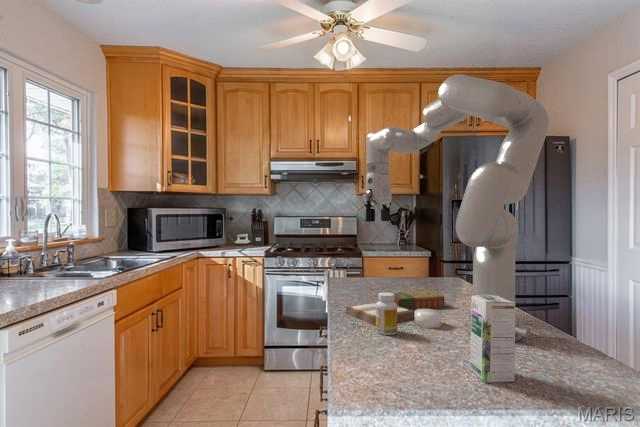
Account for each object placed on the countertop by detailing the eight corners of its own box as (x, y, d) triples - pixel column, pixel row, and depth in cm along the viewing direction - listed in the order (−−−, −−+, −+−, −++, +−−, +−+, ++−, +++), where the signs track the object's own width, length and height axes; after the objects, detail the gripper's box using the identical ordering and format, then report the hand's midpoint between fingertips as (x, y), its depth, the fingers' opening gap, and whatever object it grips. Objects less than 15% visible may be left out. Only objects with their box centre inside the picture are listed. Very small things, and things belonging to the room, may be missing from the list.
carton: (444, 308, 116) (444, 295, 116) (398, 311, 112) (398, 298, 112) (431, 302, 124) (431, 289, 124) (387, 304, 120) (387, 292, 120)
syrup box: (469, 369, 70) (469, 294, 70) (498, 368, 70) (498, 294, 70) (484, 383, 64) (484, 301, 64) (516, 382, 64) (516, 301, 64)
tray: (414, 318, 104) (414, 310, 104) (376, 326, 97) (376, 317, 97) (382, 307, 116) (381, 300, 116) (346, 313, 108) (346, 306, 108)
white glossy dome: (447, 326, 97) (447, 313, 97) (429, 330, 93) (428, 317, 93) (427, 319, 103) (427, 307, 103) (409, 323, 99) (409, 310, 99)
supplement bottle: (400, 331, 93) (400, 293, 93) (392, 337, 88) (392, 297, 88) (381, 327, 95) (381, 290, 95) (372, 333, 91) (372, 294, 91)
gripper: (374, 166, 111) (374, 221, 111) (400, 171, 124) (400, 221, 124) (353, 168, 116) (354, 221, 116) (381, 173, 129) (381, 220, 129)
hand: (378, 221), depth 120 cm, fingers open, 9 cm apart
